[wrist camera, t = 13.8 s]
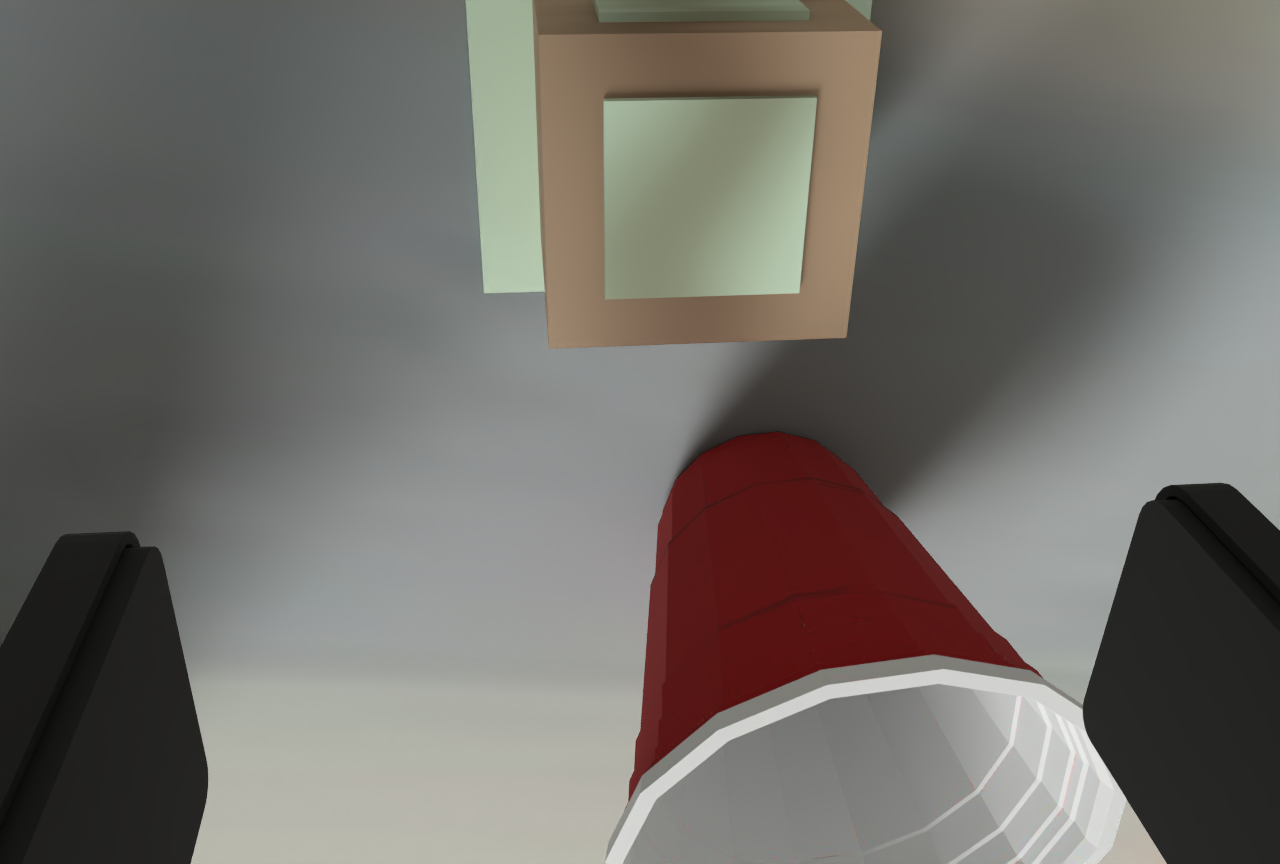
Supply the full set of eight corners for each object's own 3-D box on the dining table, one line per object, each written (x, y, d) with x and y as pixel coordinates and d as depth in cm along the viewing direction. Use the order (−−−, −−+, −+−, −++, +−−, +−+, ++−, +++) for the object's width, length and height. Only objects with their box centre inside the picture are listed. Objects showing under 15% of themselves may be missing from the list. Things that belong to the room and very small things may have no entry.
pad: (839, 279, 30) (840, 282, 29) (484, 290, 29) (483, 293, 29) (882, -107, 25) (884, -106, 25) (458, -107, 24) (458, -106, 24)
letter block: (806, -41, 25) (886, 23, 20) (785, 227, 28) (848, 341, 23) (530, -39, 25) (538, 26, 19) (540, 234, 28) (549, 352, 23)
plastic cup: (630, 698, 36) (679, 1076, 26) (522, 420, 31) (531, 765, 21) (966, 606, 36) (1149, 957, 26) (918, 305, 30) (1130, 602, 20)
